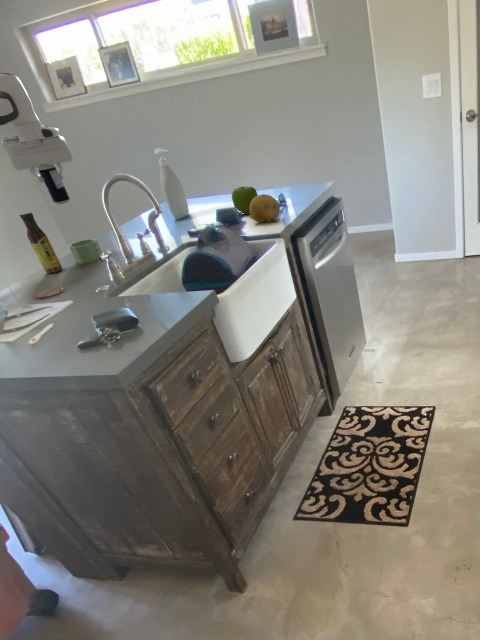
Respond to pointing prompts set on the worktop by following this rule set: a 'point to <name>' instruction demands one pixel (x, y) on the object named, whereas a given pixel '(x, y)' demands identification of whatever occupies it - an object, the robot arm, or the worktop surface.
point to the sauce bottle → (41, 244)
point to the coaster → (49, 292)
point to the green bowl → (86, 251)
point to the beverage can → (54, 184)
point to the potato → (264, 208)
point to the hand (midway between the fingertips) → (52, 180)
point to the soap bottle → (172, 188)
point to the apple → (243, 198)
